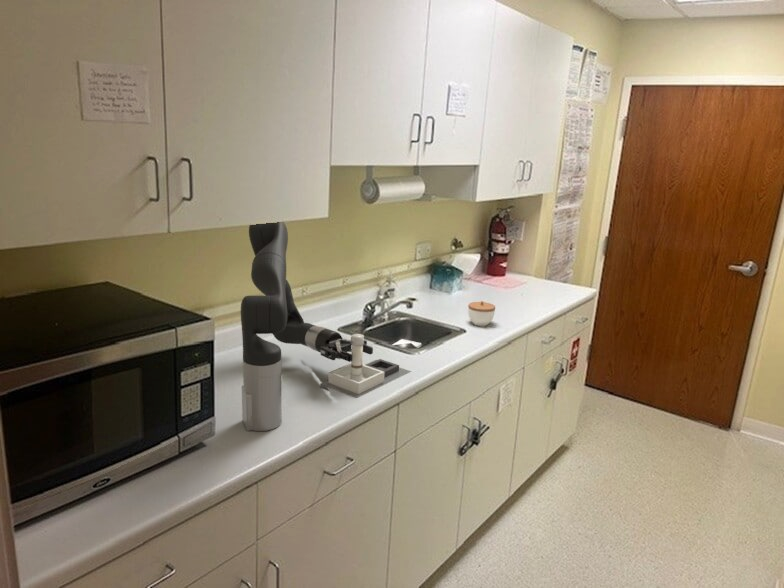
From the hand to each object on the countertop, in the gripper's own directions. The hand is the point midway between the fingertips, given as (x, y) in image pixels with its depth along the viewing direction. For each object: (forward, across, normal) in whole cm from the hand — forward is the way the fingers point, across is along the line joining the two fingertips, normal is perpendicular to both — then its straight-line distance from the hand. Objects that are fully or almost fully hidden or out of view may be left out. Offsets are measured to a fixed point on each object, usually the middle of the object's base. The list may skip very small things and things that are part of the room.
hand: (362, 354), depth 168 cm
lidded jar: (-9, +80, +11) cm, 81 cm away
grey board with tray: (-2, +5, +10) cm, 12 cm away
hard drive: (-12, +35, +11) cm, 39 cm away
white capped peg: (-2, 0, +9) cm, 9 cm away
